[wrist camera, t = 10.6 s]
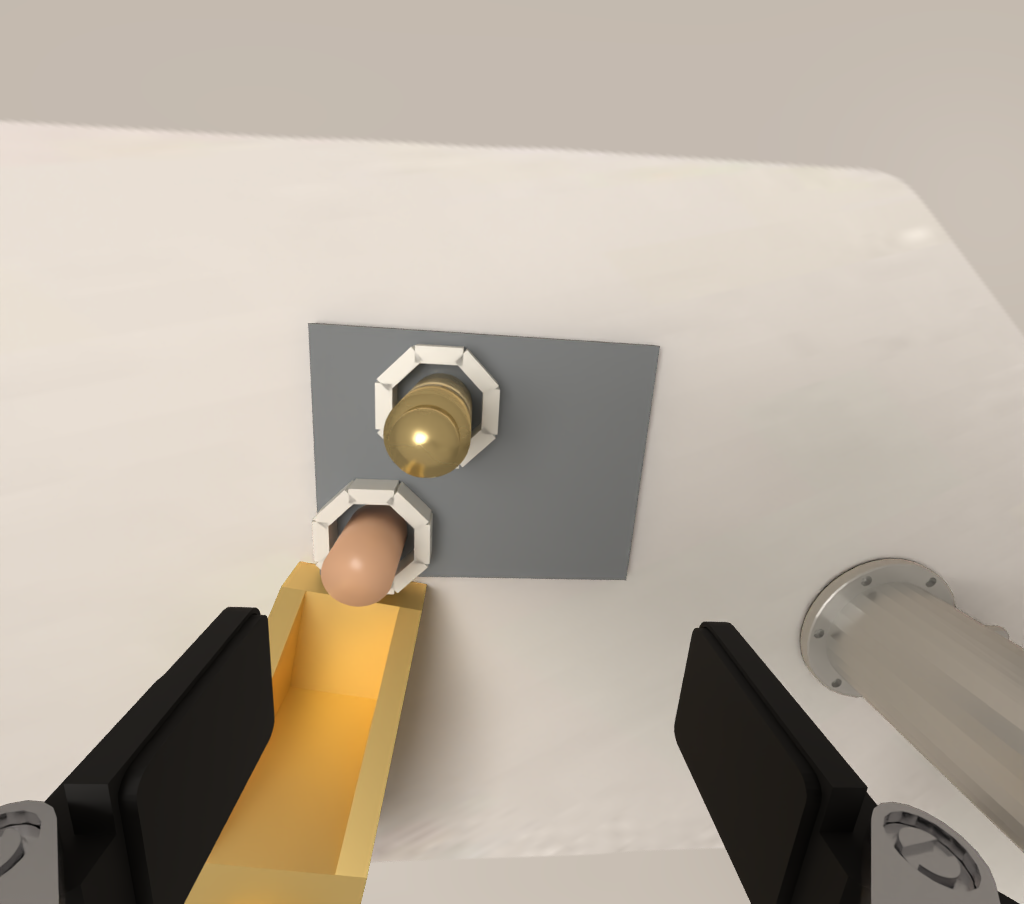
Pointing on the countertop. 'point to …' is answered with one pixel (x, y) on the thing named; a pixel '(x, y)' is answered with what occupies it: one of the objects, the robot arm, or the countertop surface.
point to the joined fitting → (371, 541)
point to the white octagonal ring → (445, 356)
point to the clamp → (318, 750)
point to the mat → (501, 448)
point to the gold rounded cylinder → (430, 427)
